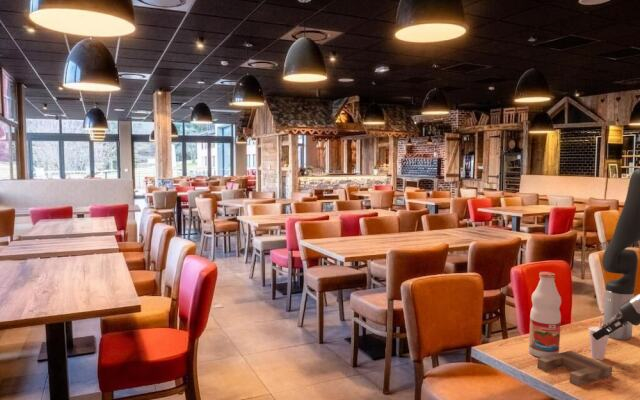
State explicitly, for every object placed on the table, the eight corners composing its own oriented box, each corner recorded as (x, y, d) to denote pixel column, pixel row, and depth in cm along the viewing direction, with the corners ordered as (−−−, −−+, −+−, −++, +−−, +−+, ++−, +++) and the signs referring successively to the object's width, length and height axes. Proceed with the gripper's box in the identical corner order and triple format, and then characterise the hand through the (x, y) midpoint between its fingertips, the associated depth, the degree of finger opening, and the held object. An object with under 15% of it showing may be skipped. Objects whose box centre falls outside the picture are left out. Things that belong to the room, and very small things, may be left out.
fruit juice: (551, 348, 172) (555, 270, 169) (563, 359, 162) (568, 276, 160) (524, 348, 172) (527, 269, 170) (534, 359, 163) (538, 276, 160)
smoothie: (589, 360, 163) (592, 318, 162) (584, 352, 169) (586, 313, 168) (611, 362, 161) (614, 320, 160) (604, 354, 167) (607, 314, 166)
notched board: (570, 359, 163) (570, 350, 163) (611, 375, 151) (612, 366, 150) (537, 367, 156) (537, 358, 155) (578, 386, 143) (578, 376, 143)
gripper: (635, 294, 163) (594, 319, 171) (626, 302, 152) (583, 329, 161) (653, 313, 160) (611, 338, 168) (645, 323, 149) (600, 349, 158)
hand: (597, 334), depth 165 cm, fingers open, 8 cm apart
